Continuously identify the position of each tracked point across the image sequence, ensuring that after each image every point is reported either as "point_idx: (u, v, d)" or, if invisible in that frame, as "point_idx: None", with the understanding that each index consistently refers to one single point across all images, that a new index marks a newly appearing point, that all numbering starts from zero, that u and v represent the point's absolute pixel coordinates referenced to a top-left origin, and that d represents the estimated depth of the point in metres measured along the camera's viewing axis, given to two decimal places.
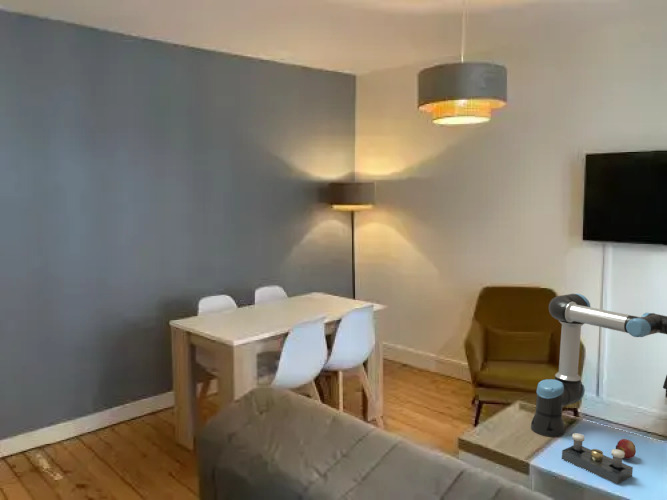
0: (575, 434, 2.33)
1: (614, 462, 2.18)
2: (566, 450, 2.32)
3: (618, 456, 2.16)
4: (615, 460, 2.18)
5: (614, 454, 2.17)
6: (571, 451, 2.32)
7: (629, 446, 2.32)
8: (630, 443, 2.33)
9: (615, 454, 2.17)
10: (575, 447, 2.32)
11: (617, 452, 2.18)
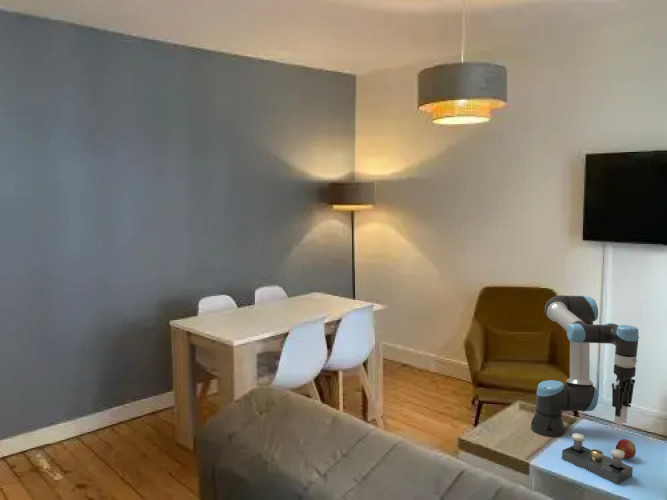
0: (575, 434, 2.33)
1: (614, 462, 2.18)
2: (566, 450, 2.32)
3: (618, 456, 2.16)
4: (615, 460, 2.18)
5: (614, 454, 2.17)
6: (571, 451, 2.32)
7: (629, 446, 2.32)
8: (630, 443, 2.33)
9: (615, 454, 2.17)
10: (575, 447, 2.32)
11: (617, 452, 2.18)
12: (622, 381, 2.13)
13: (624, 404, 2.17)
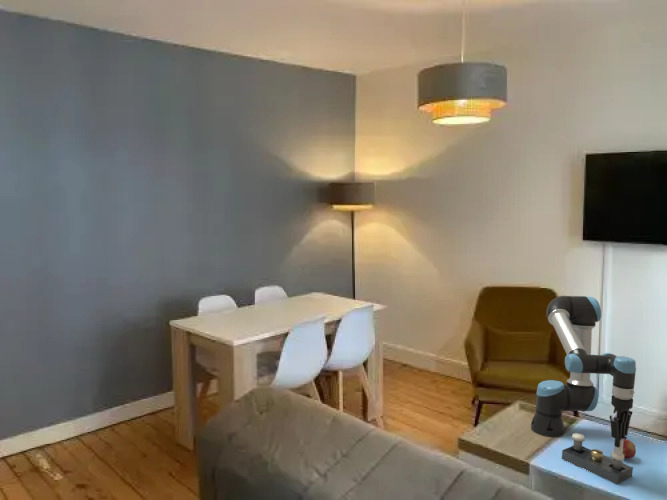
0: (575, 434, 2.33)
1: (614, 465, 2.18)
2: (566, 450, 2.32)
3: (618, 459, 2.16)
4: (615, 462, 2.18)
5: (614, 457, 2.17)
6: (571, 451, 2.32)
7: (629, 446, 2.32)
8: (630, 443, 2.33)
9: (615, 457, 2.17)
10: (575, 447, 2.32)
11: (617, 455, 2.18)
12: (620, 413, 2.14)
13: None
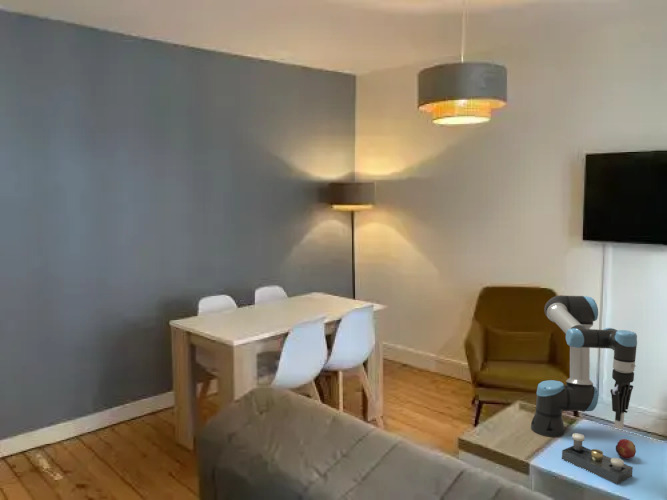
0: (575, 434, 2.33)
1: None
2: (566, 450, 2.32)
3: (617, 465, 2.17)
4: None
5: (613, 463, 2.18)
6: (571, 451, 2.32)
7: (629, 446, 2.32)
8: (630, 443, 2.33)
9: (614, 463, 2.17)
10: (575, 447, 2.32)
11: (616, 461, 2.18)
12: (620, 386, 2.13)
13: None
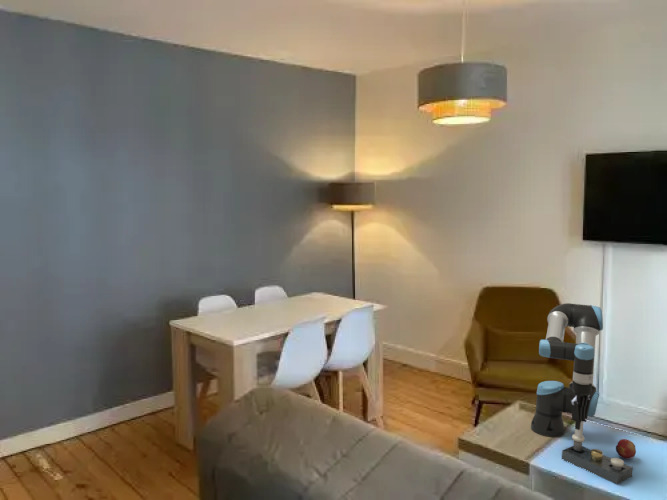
0: None
1: None
2: (566, 450, 2.32)
3: (617, 465, 2.17)
4: None
5: (613, 463, 2.18)
6: (571, 451, 2.32)
7: (629, 446, 2.32)
8: (630, 443, 2.33)
9: (614, 463, 2.17)
10: (575, 448, 2.32)
11: (616, 461, 2.18)
12: (579, 397, 2.28)
13: None
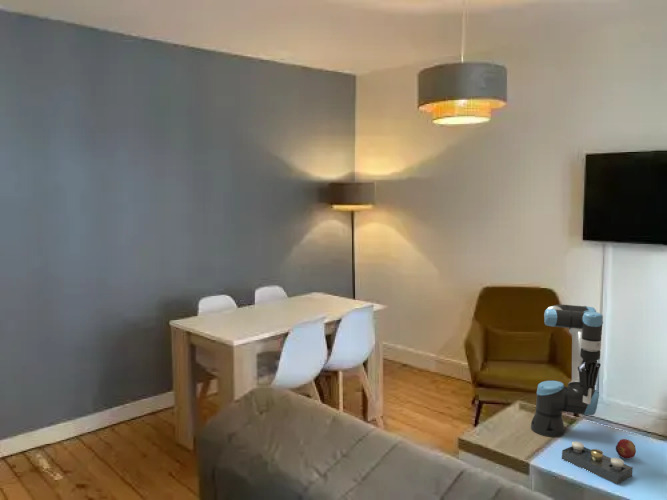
0: (574, 442, 2.34)
1: None
2: (566, 450, 2.32)
3: (617, 465, 2.17)
4: None
5: (613, 463, 2.18)
6: (571, 451, 2.32)
7: (629, 446, 2.32)
8: (630, 443, 2.33)
9: (614, 463, 2.17)
10: None
11: (616, 461, 2.18)
12: (587, 364, 2.28)
13: None
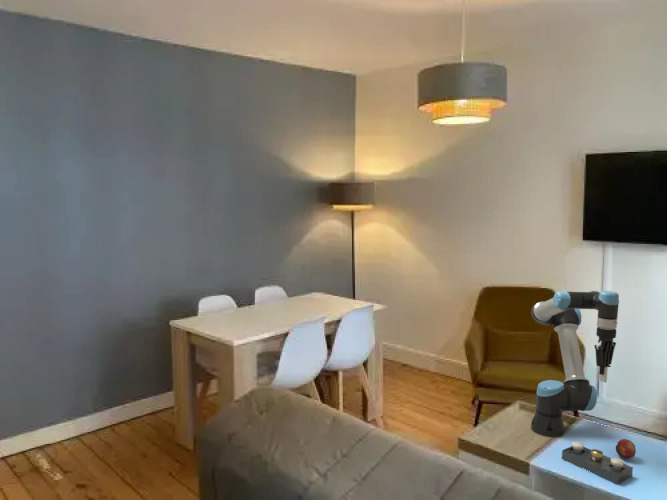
0: (574, 442, 2.34)
1: None
2: (566, 450, 2.32)
3: (617, 465, 2.17)
4: None
5: (613, 463, 2.18)
6: (571, 451, 2.32)
7: (629, 446, 2.32)
8: (630, 443, 2.33)
9: (614, 463, 2.17)
10: None
11: (616, 461, 2.18)
12: (604, 342, 2.32)
13: None
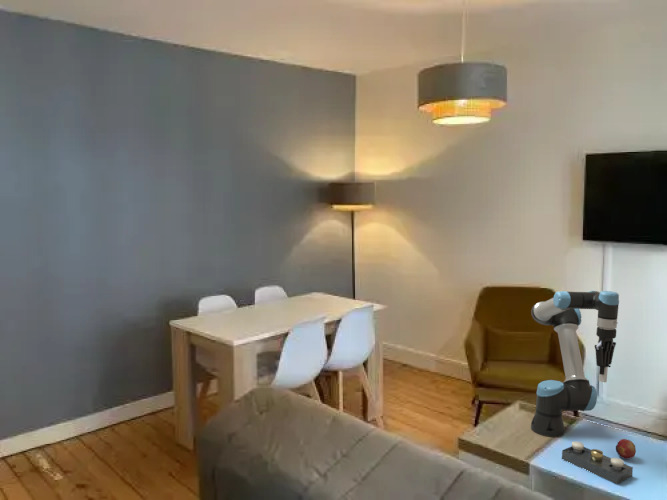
0: (574, 442, 2.34)
1: None
2: (566, 450, 2.32)
3: (617, 465, 2.17)
4: None
5: (613, 463, 2.18)
6: (571, 451, 2.32)
7: (629, 446, 2.32)
8: (630, 443, 2.33)
9: (614, 463, 2.17)
10: None
11: (616, 461, 2.18)
12: (604, 342, 2.32)
13: None
